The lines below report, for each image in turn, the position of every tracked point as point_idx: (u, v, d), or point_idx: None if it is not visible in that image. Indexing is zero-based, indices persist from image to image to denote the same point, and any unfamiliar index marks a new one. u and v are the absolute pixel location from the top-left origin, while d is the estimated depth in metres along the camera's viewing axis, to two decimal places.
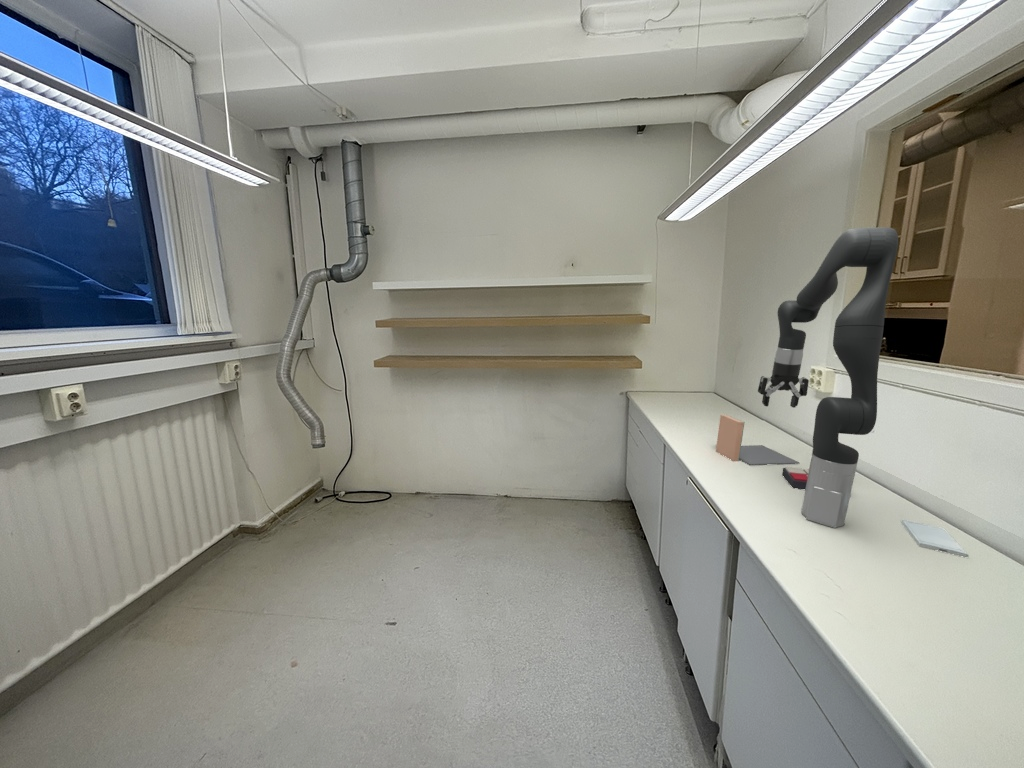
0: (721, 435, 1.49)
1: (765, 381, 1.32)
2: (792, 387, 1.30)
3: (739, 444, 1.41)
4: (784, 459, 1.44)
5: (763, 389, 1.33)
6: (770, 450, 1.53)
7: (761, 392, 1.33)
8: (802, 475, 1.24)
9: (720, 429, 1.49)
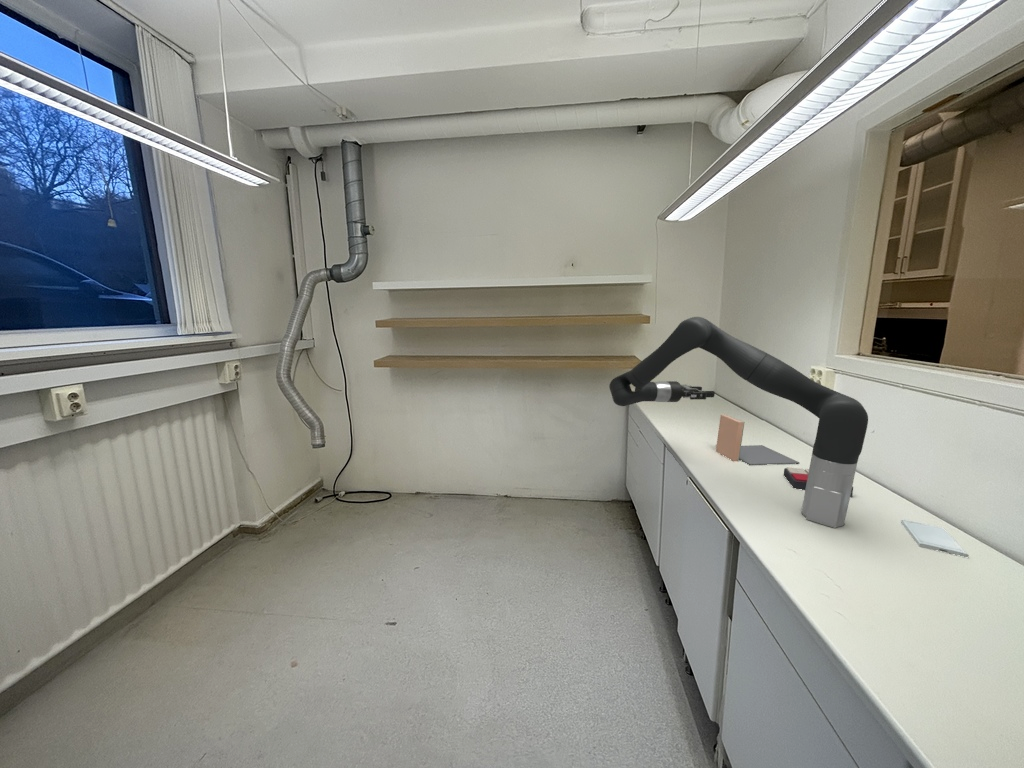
0: (721, 435, 1.49)
1: (694, 392, 1.34)
2: (685, 386, 1.42)
3: (739, 444, 1.41)
4: (784, 459, 1.44)
5: (701, 392, 1.34)
6: (770, 450, 1.53)
7: (705, 392, 1.34)
8: (803, 475, 1.23)
9: (720, 429, 1.49)
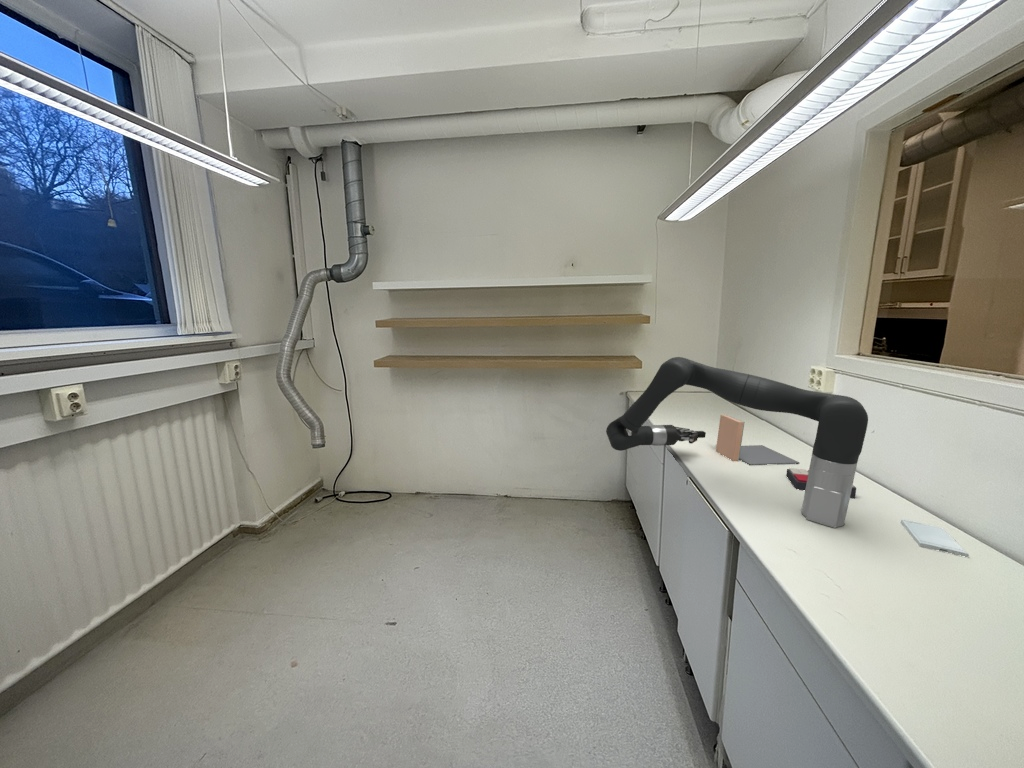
0: (721, 435, 1.49)
1: (691, 436, 1.38)
2: (682, 429, 1.44)
3: (739, 444, 1.41)
4: (784, 459, 1.44)
5: (694, 434, 1.40)
6: (770, 450, 1.53)
7: (696, 434, 1.41)
8: (806, 476, 1.23)
9: (720, 429, 1.49)
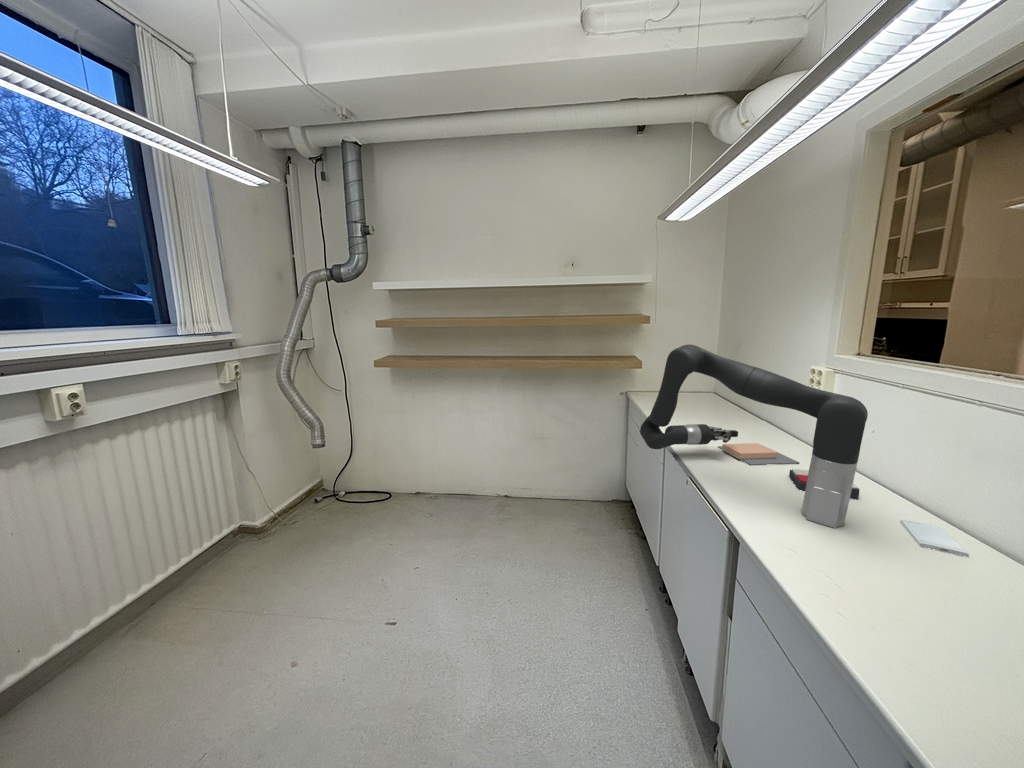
0: (743, 445, 1.51)
1: (726, 435, 1.40)
2: (715, 428, 1.45)
3: (755, 457, 1.43)
4: (784, 459, 1.44)
5: (728, 433, 1.42)
6: None
7: (729, 433, 1.42)
8: None
9: (746, 444, 1.52)
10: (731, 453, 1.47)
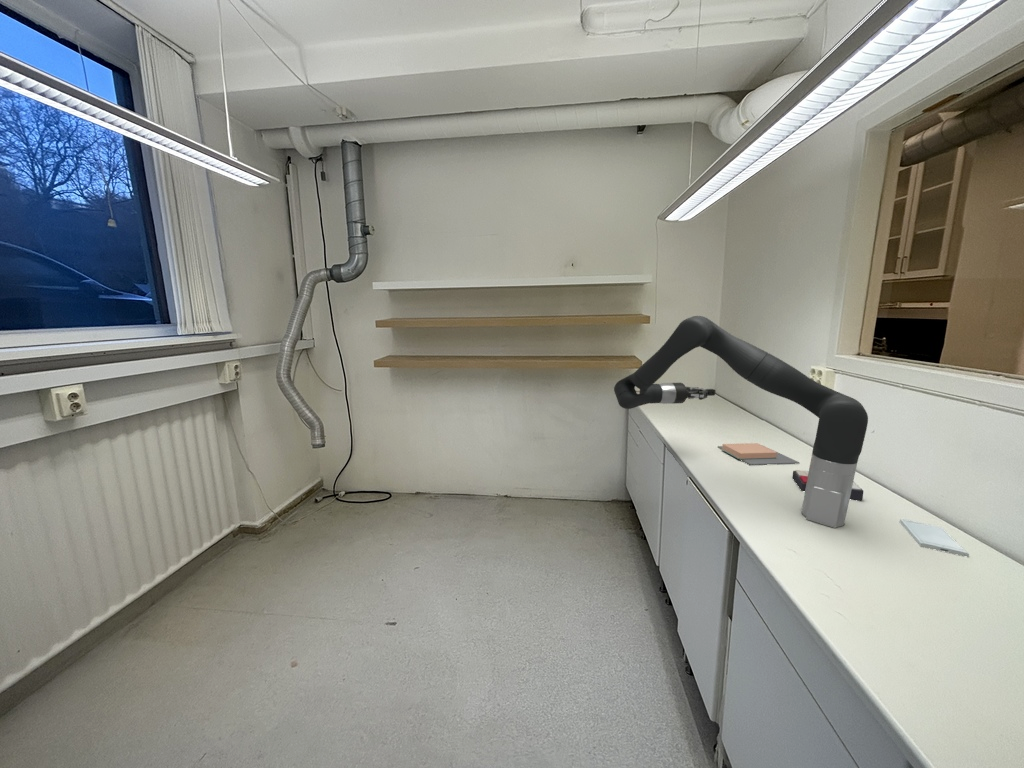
0: (743, 445, 1.51)
1: (701, 392, 1.35)
2: (691, 387, 1.41)
3: (755, 457, 1.43)
4: (784, 459, 1.44)
5: (704, 391, 1.37)
6: None
7: (706, 390, 1.38)
8: None
9: (746, 444, 1.52)
10: (731, 453, 1.47)
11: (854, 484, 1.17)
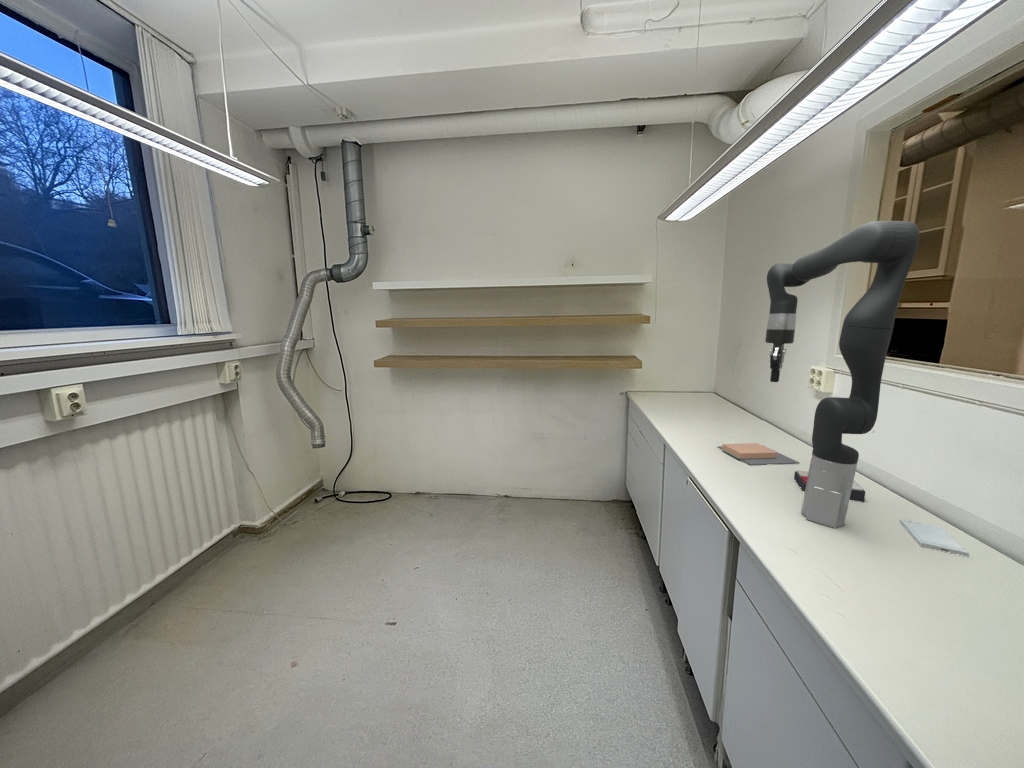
0: (743, 445, 1.51)
1: (779, 357, 1.20)
2: None
3: (755, 457, 1.43)
4: (784, 459, 1.44)
5: (779, 364, 1.22)
6: None
7: (779, 367, 1.22)
8: None
9: (746, 444, 1.52)
10: (731, 453, 1.47)
11: (856, 485, 1.17)
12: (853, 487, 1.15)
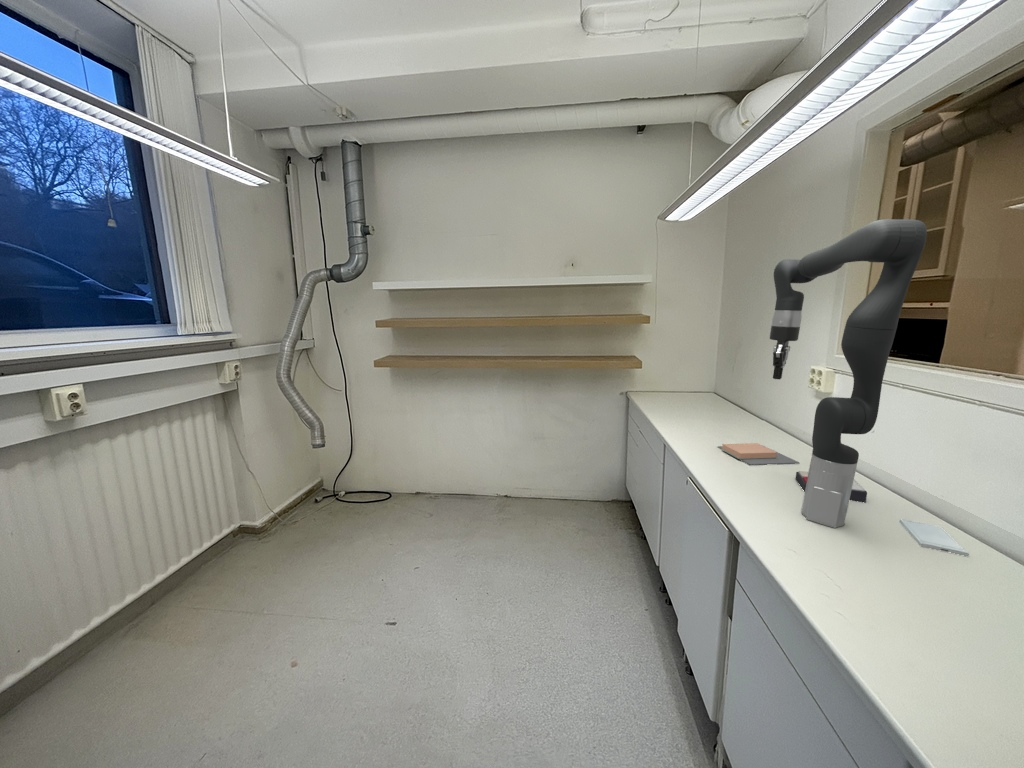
0: (743, 445, 1.51)
1: (782, 355, 1.20)
2: (787, 353, 1.24)
3: (755, 457, 1.43)
4: (784, 459, 1.44)
5: (782, 361, 1.21)
6: None
7: (782, 364, 1.22)
8: None
9: (746, 444, 1.52)
10: (731, 453, 1.47)
11: (858, 485, 1.16)
12: (855, 488, 1.15)
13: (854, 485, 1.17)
